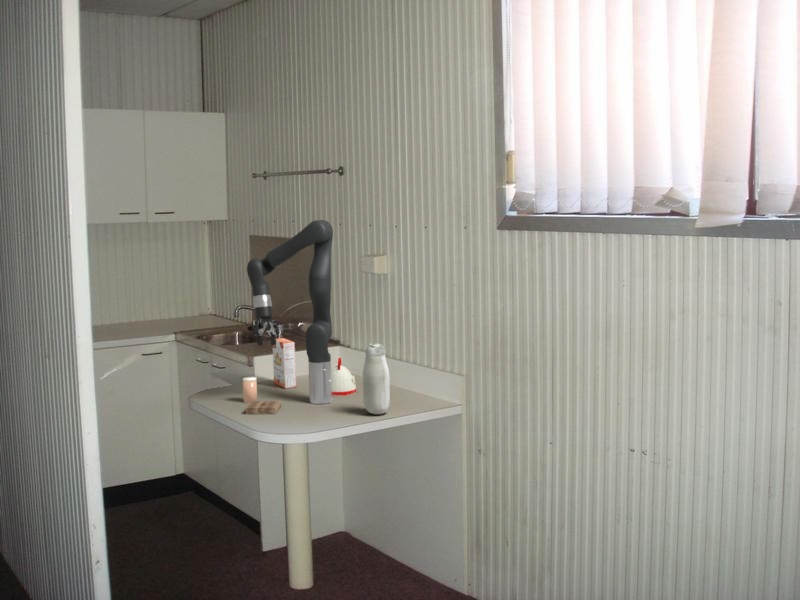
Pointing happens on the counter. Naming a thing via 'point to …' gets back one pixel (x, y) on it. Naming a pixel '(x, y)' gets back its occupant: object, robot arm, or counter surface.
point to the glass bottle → (376, 380)
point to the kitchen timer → (342, 380)
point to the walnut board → (263, 407)
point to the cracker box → (284, 363)
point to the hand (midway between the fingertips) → (267, 345)
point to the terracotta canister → (249, 389)
